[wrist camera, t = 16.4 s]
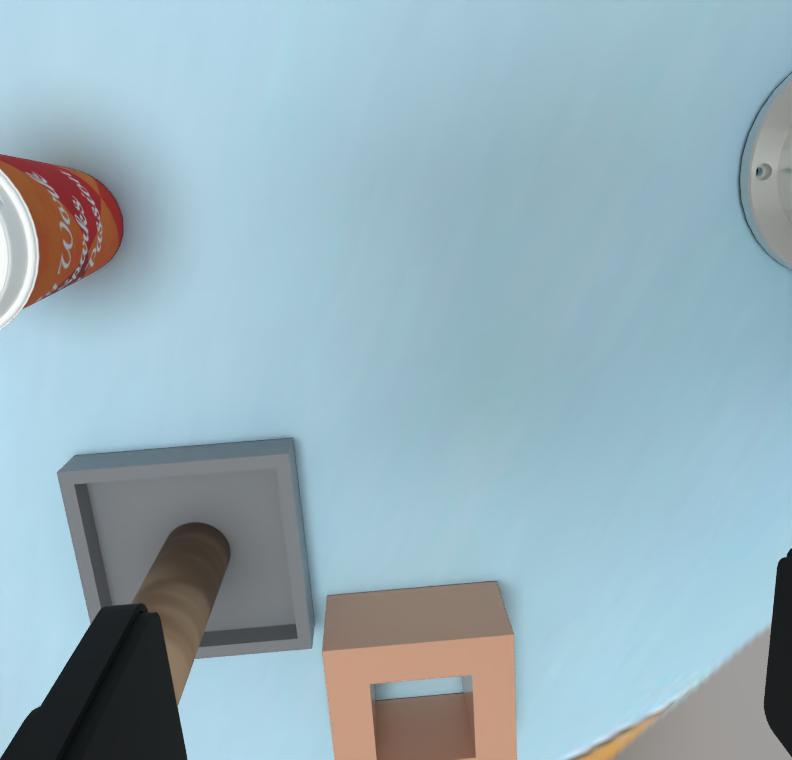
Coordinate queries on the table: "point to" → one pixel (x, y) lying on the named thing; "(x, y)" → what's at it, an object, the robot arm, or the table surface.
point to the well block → (421, 673)
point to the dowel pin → (185, 591)
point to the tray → (205, 503)
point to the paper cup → (50, 231)
